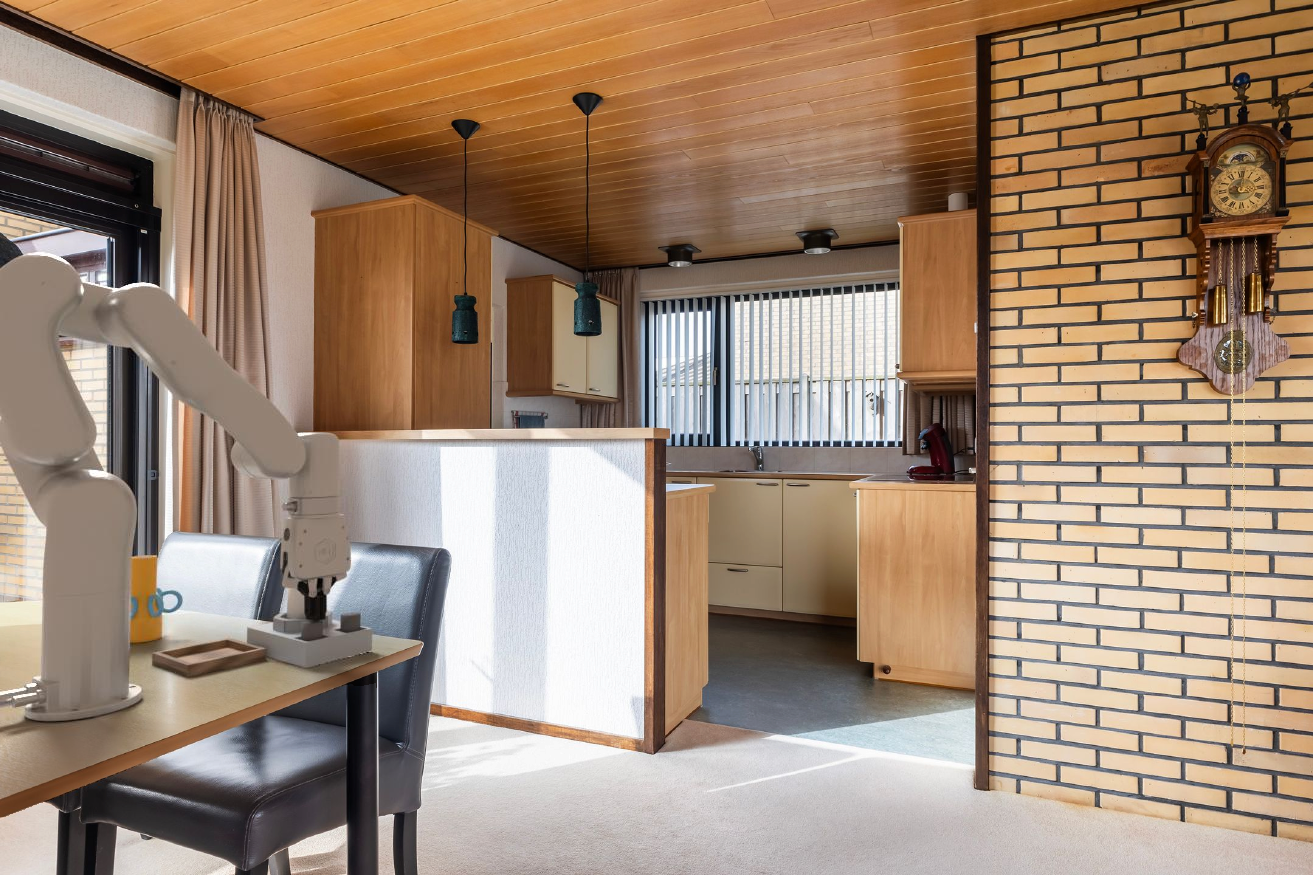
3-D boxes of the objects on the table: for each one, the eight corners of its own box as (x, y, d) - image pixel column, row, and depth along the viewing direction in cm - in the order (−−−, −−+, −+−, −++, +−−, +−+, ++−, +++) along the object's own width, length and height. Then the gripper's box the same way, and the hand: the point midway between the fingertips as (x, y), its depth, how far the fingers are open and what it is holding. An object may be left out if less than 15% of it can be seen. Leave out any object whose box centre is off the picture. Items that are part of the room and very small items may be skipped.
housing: (305, 667, 119) (306, 630, 119) (246, 650, 129) (247, 615, 130) (371, 651, 129) (372, 616, 129) (312, 636, 139) (312, 604, 139)
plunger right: (347, 638, 126) (347, 617, 126) (336, 635, 128) (336, 614, 128) (364, 634, 129) (364, 614, 129) (353, 631, 131) (353, 611, 131)
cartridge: (296, 631, 127) (297, 566, 127) (278, 627, 130) (279, 563, 130) (327, 625, 131) (328, 562, 131) (309, 621, 134) (310, 560, 135)
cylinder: (91, 641, 135) (93, 557, 135) (153, 629, 144) (154, 551, 144) (129, 650, 129) (131, 562, 129) (191, 637, 138) (192, 555, 139)
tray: (187, 676, 114) (187, 665, 114) (152, 663, 121) (152, 652, 121) (265, 659, 124) (266, 648, 124) (229, 648, 131) (229, 637, 131)
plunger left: (308, 646, 121) (308, 625, 121) (297, 643, 122) (297, 622, 122) (326, 642, 123) (326, 621, 123) (315, 640, 125) (315, 618, 125)
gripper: (283, 512, 115) (283, 632, 115) (368, 505, 127) (369, 613, 127) (257, 510, 119) (258, 625, 119) (342, 503, 132) (343, 608, 132)
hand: (315, 619), depth 123 cm, fingers closed
